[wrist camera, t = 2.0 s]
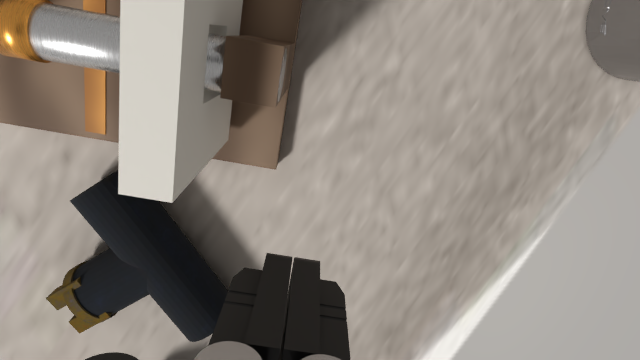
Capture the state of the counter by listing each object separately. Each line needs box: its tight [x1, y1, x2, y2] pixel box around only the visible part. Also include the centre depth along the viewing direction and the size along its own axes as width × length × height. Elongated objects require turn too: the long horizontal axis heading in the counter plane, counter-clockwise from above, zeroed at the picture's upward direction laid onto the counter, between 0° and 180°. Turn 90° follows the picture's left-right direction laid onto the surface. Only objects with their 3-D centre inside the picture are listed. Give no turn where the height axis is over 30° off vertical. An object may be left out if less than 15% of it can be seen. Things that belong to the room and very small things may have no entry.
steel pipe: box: [0, 0, 287, 102], centre depth 22 cm, size 22×3×3 cm, turn 80°
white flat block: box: [118, 0, 243, 203], centre depth 23 cm, size 2×12×12 cm, turn 170°
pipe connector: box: [46, 171, 228, 342], centre depth 34 cm, size 12×5×15 cm
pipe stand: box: [0, 0, 302, 169], centre depth 25 cm, size 22×16×10 cm
